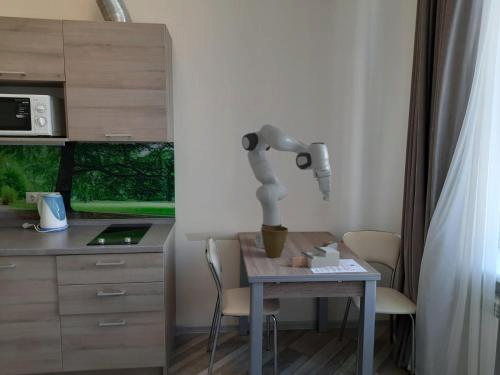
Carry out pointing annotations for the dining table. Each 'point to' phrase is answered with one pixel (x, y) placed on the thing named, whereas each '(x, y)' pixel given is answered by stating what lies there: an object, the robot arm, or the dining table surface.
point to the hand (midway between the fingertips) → (326, 200)
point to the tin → (331, 244)
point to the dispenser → (322, 257)
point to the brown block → (299, 261)
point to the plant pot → (274, 240)
